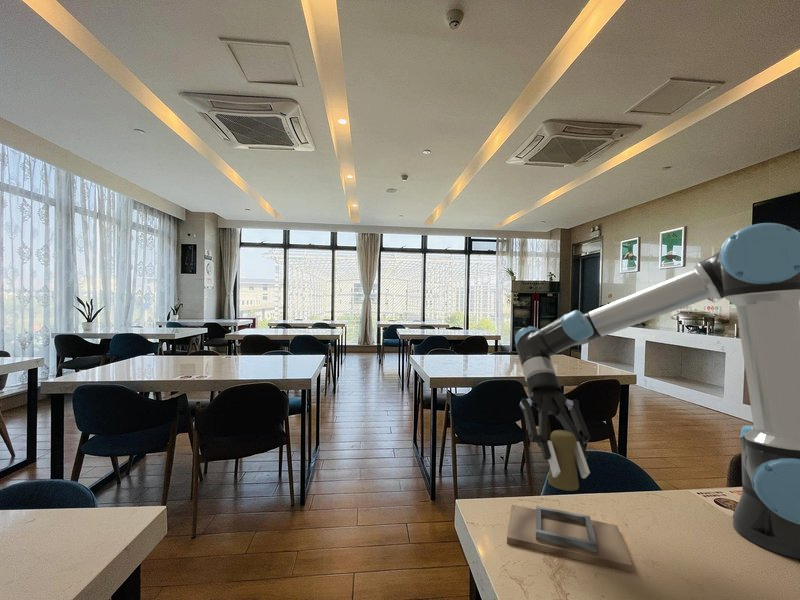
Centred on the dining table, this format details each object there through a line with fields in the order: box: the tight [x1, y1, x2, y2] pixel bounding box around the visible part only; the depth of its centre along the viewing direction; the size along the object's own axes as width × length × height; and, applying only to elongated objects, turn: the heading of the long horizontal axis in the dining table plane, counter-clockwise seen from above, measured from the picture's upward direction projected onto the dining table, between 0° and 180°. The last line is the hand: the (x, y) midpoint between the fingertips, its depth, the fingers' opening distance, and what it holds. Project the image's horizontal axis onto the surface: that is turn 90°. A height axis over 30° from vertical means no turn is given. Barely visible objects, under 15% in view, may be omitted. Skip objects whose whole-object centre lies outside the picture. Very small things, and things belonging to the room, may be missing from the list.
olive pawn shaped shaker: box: [547, 429, 580, 492], centre depth 77 cm, size 6×6×11 cm
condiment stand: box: [506, 504, 634, 573], centre depth 76 cm, size 22×14×3 cm, turn 69°
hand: (571, 474), depth 73 cm, fingers closed on olive pawn shaped shaker, 5 cm apart
